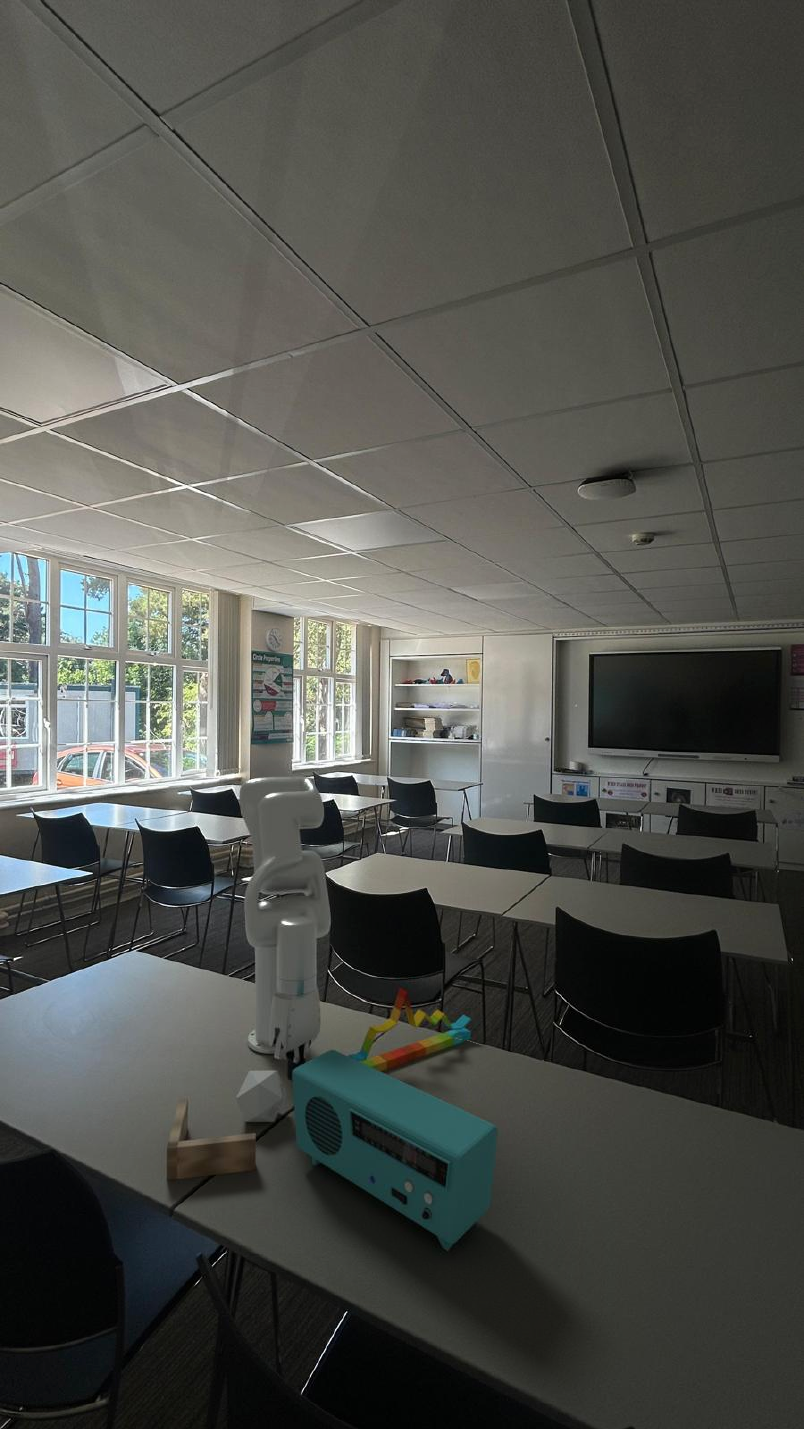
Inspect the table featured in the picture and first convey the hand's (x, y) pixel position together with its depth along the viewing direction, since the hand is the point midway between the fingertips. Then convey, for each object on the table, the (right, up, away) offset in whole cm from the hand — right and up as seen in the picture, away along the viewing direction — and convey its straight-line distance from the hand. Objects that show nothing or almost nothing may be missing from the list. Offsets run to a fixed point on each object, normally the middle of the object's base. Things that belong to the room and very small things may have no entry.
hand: (296, 1079), depth 128 cm
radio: (+18, -3, -26) cm, 32 cm away
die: (-5, -3, -7) cm, 9 cm away
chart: (+22, -4, +15) cm, 27 cm away
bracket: (-14, -3, -19) cm, 24 cm away
